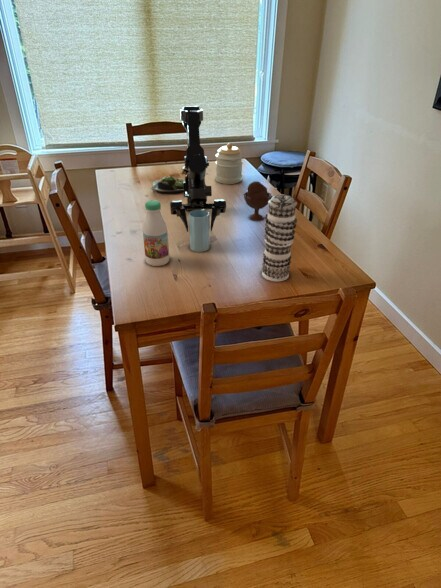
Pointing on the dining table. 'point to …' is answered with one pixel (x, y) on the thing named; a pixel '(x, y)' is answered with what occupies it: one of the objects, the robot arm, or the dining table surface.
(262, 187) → the ice cream bowl
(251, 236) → the dining table surface
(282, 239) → the decorative candle
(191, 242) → the tumbler
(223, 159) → the jar
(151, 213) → the milk bottle
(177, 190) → the salad plate
